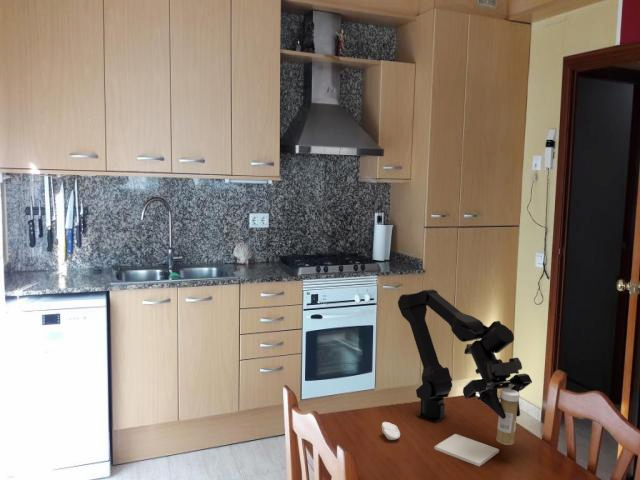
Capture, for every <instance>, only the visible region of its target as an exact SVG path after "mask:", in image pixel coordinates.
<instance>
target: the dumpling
mask: <svg viewBox="0 0 640 480" xmlns="http://www.w3.org/2000/svg"><path fill="white" fill-rule="evenodd" d="M381 429H382V433H383V434H384V435H385V437H386V438H387V439H388V440H390V441H395V440H397V439H399V438H400V437H401V432H400V431H401V430H400V429H399V428H398V426H397V425H396V424H393V423H391V422H388V421H383V422H382V423H381Z"/></svg>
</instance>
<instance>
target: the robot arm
mask: <svg viewBox="0 0 640 480" xmlns="http://www.w3.org/2000/svg"><path fill="white" fill-rule="evenodd" d="M397 307H398V309H399V311H400V313H401V316H402V318H404V319H405V320H406V321H407V322H408V324H409V325H410V328H411V332H412V335H413V338H414V341H415V344H416V345H415V346H416V348H417V352H418V354H419V358H420V360H421V363H422V367H423V369H422V373H421V382H422V383H421V385H420V386H419V387H417V388H416V389H415V391H416V392H415V393H416V397H417V398H418V399H420V408H419V409H420V410H419V411H420V412H419V413H417V415H416V416H417V417H419V418H422V419H424V420H427V421H430V422H433V423H437V422H439V421H441V420H442V419H444V418H446V416H447V415H446V414H445V413H446V412H445V411H446V410H445V409H446V404H445V398H448V397H449V395H450V393H451V391H452V388H453V379H452V377H451V373H450V369H449V368H448V367H443V366H442V365H441V364H440V362H439V359H438V355H437V351H436V349H435V346H434V343H433V339H432V337H431V334H430V330H429V327H428V323H427V321H426V316H427V310H428V309H427V307H429V309H431V310H432V311H433V312H434V313H435V314H436V315H438V316H439V317H441V319H442V320H444V321H445V322H446V323H447V324H448V325H449V326H450V328H451V332H452V333H453V334H454V336H455V337H456V338H457V339H458V340H459V341H460V342H463V343H465V342H471V343H467V344H466V346H465V349H464V351H463V352H464V354H465V355H471V357H472V359H473V361H474V363H475V366H476V369H475V373H476V375H480V376H481V377H480V379H472V380H470V381H469V382H468V383H467V384H465V385H464V387H463V389H462V394H463V396H464V398H465V400H467V399H474V398H475V397H476V395H477V393H478V395H479V396H477V398H476V399H477V400H478V401H481V402H482V403H484V404H485V405H486V406H488V408H490V409H491V410H493V412H495V413H496V414H497V415H498V417H499V416H500V417H501V418H502V419H505V418H506V416H505V413H504V410H503V408H502V405H501V403H500V401H501V400H500V399H499V397H498V390H500V389H501V390H502V389H511V390H515V391H517V392H519V393H520V392H521V391H523V390H524V389H525V388H527V387H528V386H529V385H531V384H532V383H533V381H532V379H531V376H530V375H529V374H527V373H520V371H521V370H522V369H523V365H522V362H521V360H520V358H519V357H513V358H509V359H508V361H507V362H505V361H503V360H502V359H501V358H499V359H497V356H496V354H498V353H500V352H501V351H503V350H504V349H506V347H508V346H509V345H511V344H512V343H513V342H514V340H515V336H514V335H515V334H514V333H513V331H512V330H511V329H510V328H509V327H507V326H506V325H504V324H502V323H501V321H500V320H496V321H493V322H492V323H491V324H490V325H489V326H487V325H485V324H484V323H483V322H482V321H481V320H480V319H479V318H476V317H474V316H472V315H470V314H467V313H464V312H462V311H460V310H459V309H457V307H455V306H454V305H453V304H451V303H450V302H449V301H448V300H447V299H445V298H444V297H443V296H441V295H440V294H439V292H438V291H437V290H435V289H433V288H432V289H422V291H419V292H415V293H406V294H405V293H404V294H401V295H400V296H399V298H398V300H397ZM472 341H473V342H472ZM512 374H515V375H513V376H511V375H512ZM510 377H511V378H510ZM509 378H510V379H509ZM520 416H521V410H520V400H519V401H518V407H517V417H520ZM517 417H516V418H517Z"/></svg>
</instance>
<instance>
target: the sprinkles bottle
mask: <svg viewBox="0 0 640 480" xmlns="http://www.w3.org/2000/svg"><path fill="white" fill-rule="evenodd" d="M499 401H500V403H501V405H502V408H503V410H504V413H505V416H506V418H505V419H502V418H501V417H500V416H499V415H498V420H497V433H496V437H495V438H496V439H495V440H496V442H498V443H499V444H501V445H505V446H512V445H514V444H515V434H516V433H515V432H516V427H517V407H518V401H519V402H520V391H519V392H517V391H515V390H511V389H503V388H502V389H501V390H500V400H499Z"/></svg>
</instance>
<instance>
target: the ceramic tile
mask: <svg viewBox="0 0 640 480" xmlns="http://www.w3.org/2000/svg"><path fill="white" fill-rule="evenodd" d="M434 450H436V451H438V452H441V453H442V454H446V455H449V456H451V457H453V458H456V459H458V460H461V461H464V462H467V463H469V464H472V465H474V466H477V467H479V468H480V467H481V466H482V465H484V464H486V462H488V461H489V460H490V459H492V458H493V457H494V456H496V455H497V454H498V453H499V452H500V449H499V448H496V447H494V446H490V445H488V444H486V443H482V442H479V441H478V440H477V441H476V440H475V439H471V438H470V437H469V438H468V437H465V436H464V435H463V436H462V435H461V434H457V433H454V434H453V435H451V436H448V438H445V439H444V440H442V441H440V442H439V443H438V444H436V445H434Z"/></svg>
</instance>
